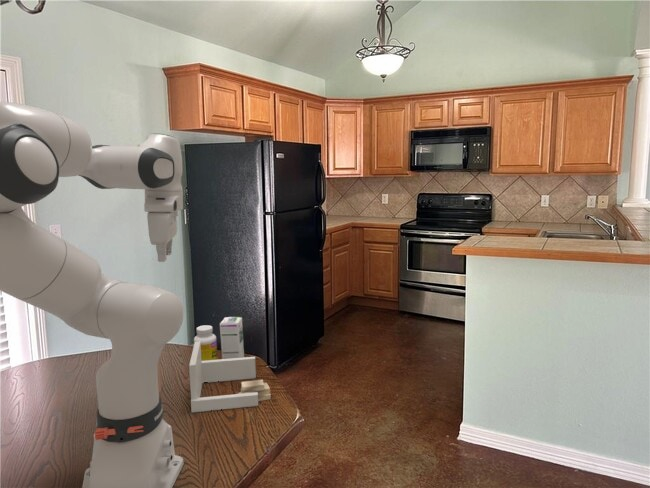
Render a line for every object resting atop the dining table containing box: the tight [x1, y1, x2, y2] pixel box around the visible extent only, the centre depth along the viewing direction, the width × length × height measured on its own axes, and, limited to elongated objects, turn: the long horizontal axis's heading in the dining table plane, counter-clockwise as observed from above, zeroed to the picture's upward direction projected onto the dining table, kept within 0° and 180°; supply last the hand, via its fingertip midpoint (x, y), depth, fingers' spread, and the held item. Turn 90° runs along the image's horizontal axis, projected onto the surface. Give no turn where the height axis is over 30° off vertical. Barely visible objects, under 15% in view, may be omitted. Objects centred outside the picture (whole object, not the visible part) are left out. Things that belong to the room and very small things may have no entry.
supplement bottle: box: [193, 324, 218, 361], centre depth 141 cm, size 7×7×13 cm
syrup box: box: [219, 316, 245, 359], centre depth 143 cm, size 6×6×14 cm
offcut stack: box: [237, 379, 272, 402], centre depth 123 cm, size 8×4×4 cm, turn 108°
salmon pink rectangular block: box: [158, 356, 163, 395], centre depth 127 cm, size 4×5×14 cm
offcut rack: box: [188, 341, 259, 413], centre depth 125 cm, size 18×16×12 cm
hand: (165, 258), depth 117 cm, fingers open, 8 cm apart
